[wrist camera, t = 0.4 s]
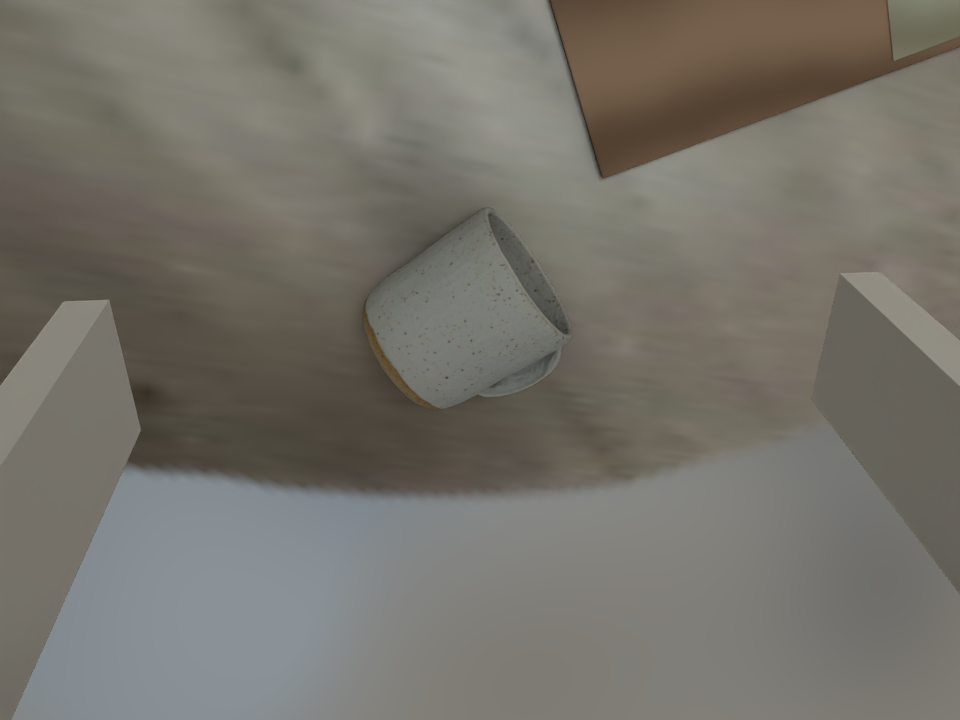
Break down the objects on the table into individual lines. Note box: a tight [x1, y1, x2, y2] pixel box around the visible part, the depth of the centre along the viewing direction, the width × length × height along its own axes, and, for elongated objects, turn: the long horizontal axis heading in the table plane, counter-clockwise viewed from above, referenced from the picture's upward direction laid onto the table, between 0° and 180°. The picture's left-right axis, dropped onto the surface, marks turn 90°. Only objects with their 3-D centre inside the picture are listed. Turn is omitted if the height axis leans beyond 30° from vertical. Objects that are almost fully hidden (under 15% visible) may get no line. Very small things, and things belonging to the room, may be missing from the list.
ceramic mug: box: [363, 208, 572, 410], centre depth 43 cm, size 11×8×8 cm
